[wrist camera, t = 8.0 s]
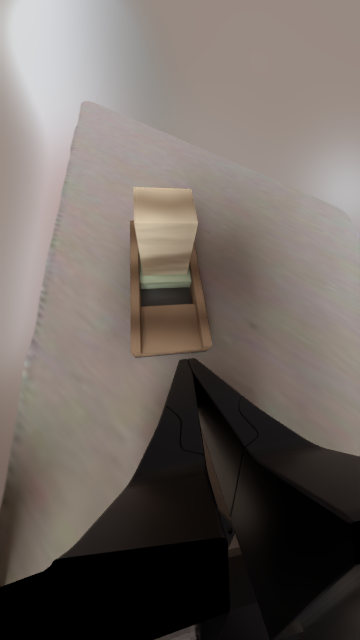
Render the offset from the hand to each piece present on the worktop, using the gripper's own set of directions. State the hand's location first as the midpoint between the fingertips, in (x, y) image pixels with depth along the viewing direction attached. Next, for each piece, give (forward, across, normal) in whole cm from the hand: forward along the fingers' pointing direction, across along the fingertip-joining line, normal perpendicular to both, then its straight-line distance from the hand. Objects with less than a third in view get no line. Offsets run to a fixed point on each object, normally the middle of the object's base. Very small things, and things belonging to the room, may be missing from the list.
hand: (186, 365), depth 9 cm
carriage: (+19, 0, -4) cm, 19 cm away
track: (+18, 0, 0) cm, 18 cm away
